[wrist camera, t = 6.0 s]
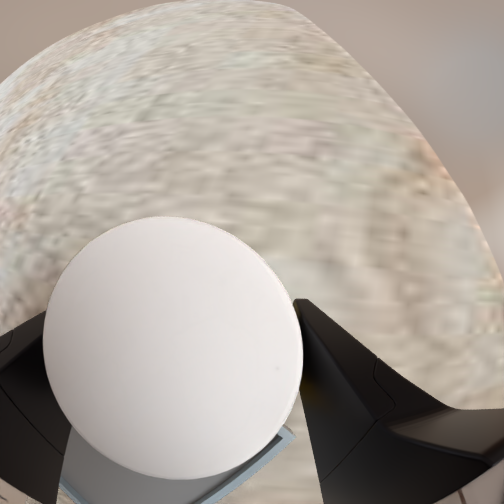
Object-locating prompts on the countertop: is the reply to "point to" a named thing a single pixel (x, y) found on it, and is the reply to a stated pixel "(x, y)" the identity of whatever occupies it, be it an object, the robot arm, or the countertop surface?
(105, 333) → the pill bottle
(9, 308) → the countertop surface
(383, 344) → the countertop surface
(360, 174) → the countertop surface
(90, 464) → the grey square tray
